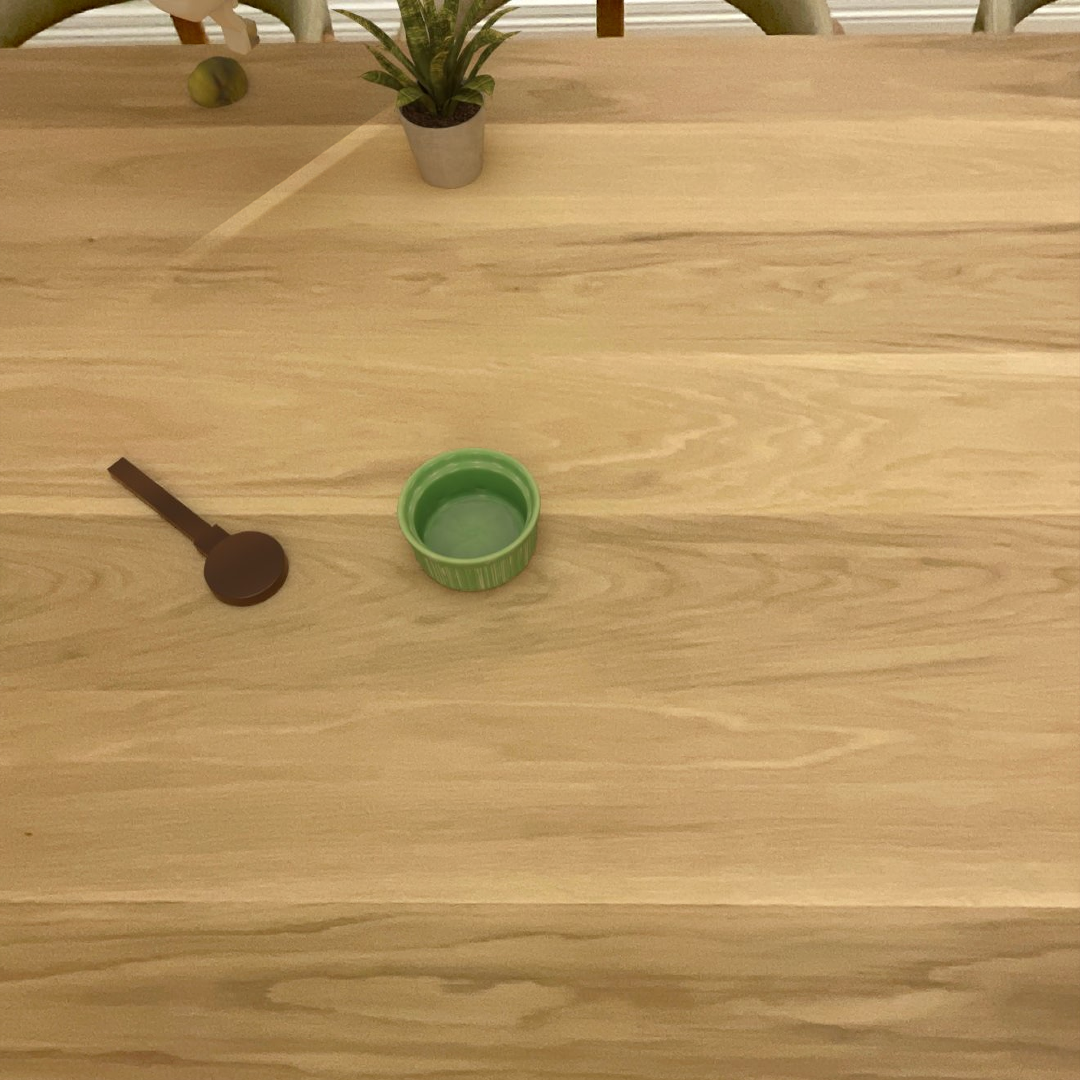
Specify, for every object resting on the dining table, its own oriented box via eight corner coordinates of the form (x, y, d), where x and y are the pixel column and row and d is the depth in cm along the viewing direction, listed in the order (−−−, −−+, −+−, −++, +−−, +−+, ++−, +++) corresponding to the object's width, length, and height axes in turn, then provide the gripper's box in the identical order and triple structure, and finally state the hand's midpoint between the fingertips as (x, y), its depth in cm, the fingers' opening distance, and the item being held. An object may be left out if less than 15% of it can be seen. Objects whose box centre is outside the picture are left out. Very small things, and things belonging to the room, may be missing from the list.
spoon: (88, 493, 79) (82, 484, 79) (148, 446, 82) (143, 437, 81) (244, 621, 74) (240, 612, 73) (305, 567, 76) (301, 558, 75)
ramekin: (437, 621, 73) (427, 584, 70) (388, 517, 78) (376, 477, 74) (567, 568, 75) (563, 529, 71) (511, 469, 79) (505, 427, 76)
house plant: (585, 152, 97) (578, -43, 83) (487, 250, 91) (461, 58, 77) (449, 96, 101) (421, -97, 88) (347, 186, 96) (299, -6, 82)
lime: (191, 120, 101) (171, 67, 97) (222, 88, 103) (204, 35, 99) (234, 132, 100) (216, 79, 96) (264, 99, 102) (248, 46, 98)
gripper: (295, -289, 75) (337, -72, 87) (76, -146, 66) (156, 76, 77) (376, -269, 73) (408, -50, 85) (163, -119, 64) (231, 104, 76)
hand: (286, 11), depth 81 cm, fingers open, 8 cm apart
